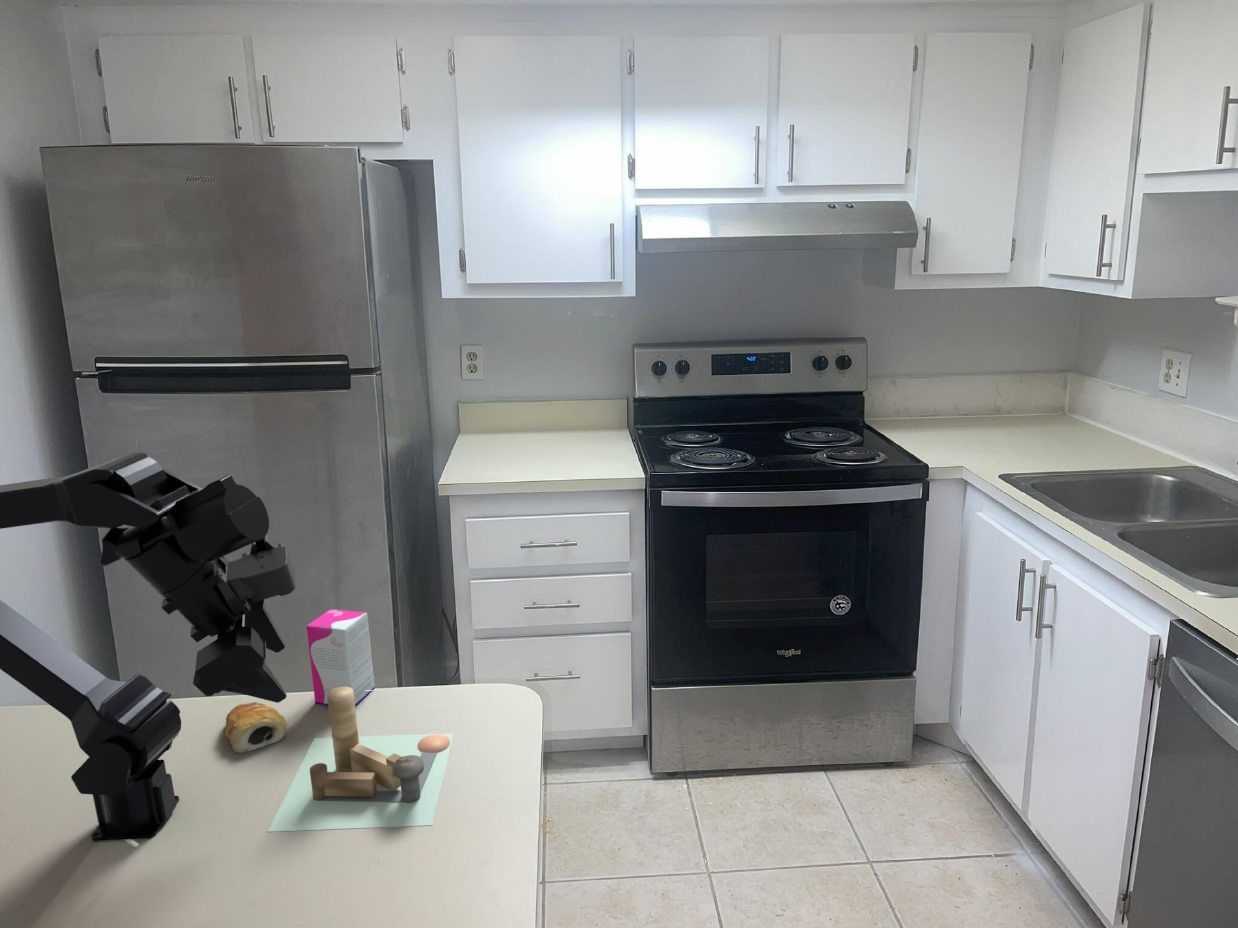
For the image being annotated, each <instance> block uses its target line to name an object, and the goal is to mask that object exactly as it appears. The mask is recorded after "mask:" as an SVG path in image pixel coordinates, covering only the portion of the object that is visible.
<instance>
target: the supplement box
mask: <svg viewBox="0 0 1238 928" xmlns="http://www.w3.org/2000/svg"><path fill="white" fill-rule="evenodd" d="M368 618H369V617H368V612H362V611H352V610H343V609H342V610H341V609H332V608H330V609H328V610H327V611H326V612H324V613H323V614H322V615H320V616H319V617H317V618H316V619H314V620H313V621H312V622H310V623H309V624H307V625H306V633H307V634H306V635H307V641H308V642H307V643H308V651H309V660H310V661H309V662H310V668H311V669H310V670H311V678H312V685H313V694H314V697H313V698H314V703H315V705H316V706H317V705H319V706H323V707H324V706H325V707H329V705H328V696H327V694H328V692H329V691H330V690H332V689H334V688H337V687H343V686H346V687H350V688H352V689H353V692H354V702H355V708H356V707H357V706H358V705H359V704H360V703H362V701H364V699H366V698H367V697H368V696H369V695H371V693H372V692H373V691H374V690H375V689H376V686H375V678H374V677H375V675H374V669H373V659H372V658H373V657H372V649H371V640H370V629H369V628H370V627H369V619H368ZM365 690H373V691H365Z"/></svg>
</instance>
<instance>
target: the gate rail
mask: <svg viewBox="0 0 1238 928" xmlns="http://www.w3.org/2000/svg"><path fill="white" fill-rule="evenodd" d="M327 696H328V705H329V706H328V711H329V712H328V713H329V720H330V728H331V729H330V730H331V738H332V739H333V748H334V756H335V765H336V770H337V772H361V773H375V778H376V783H378V784H380V785H382V786H384V787H387V788H389V789H391V790H393V791H395V790H396V789H397V788H399V787H400V786H401V783H400V779H412V778H415V777H417V776H419V775H420V774H421V773H422V772H423V770H424V763H423V759H422V758H421V757H419V756H416V755H408V756H404V757H402V756H399V755H397V754H395V753H394V754H392V755H391V756H389V757H388V756H385V755H383V754H381V753H379V752H376V751H374V750H372V749H369V748H367V747H365V746H363V745H360V744H359V739H358V737H359V732H358V722H357V713H356V707H355V702H354V692H353V689H352V688H350V687H346V686H343V687H337V688H334V689H332V690H330V691H329V692H328V694H327Z"/></svg>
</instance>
